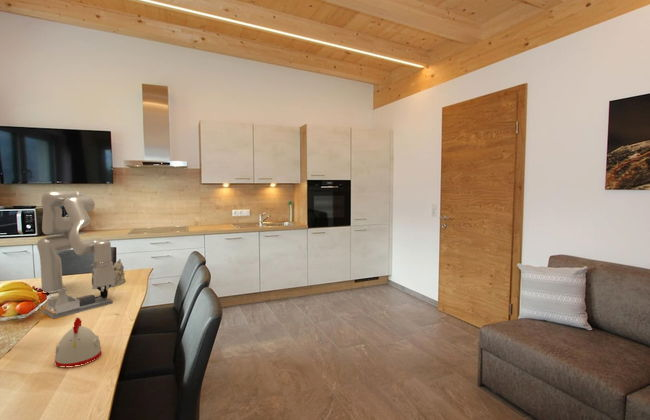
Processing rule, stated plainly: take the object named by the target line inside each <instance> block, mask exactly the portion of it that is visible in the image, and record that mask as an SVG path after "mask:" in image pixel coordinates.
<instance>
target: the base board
mask: <svg viewBox="0 0 650 420" xmlns="http://www.w3.org/2000/svg"><path fill="white" fill-rule="evenodd" d="M113 303H114V302H113V300H110V299H109V298H105V299H103V298H101V296H100V295H97V296H96V295H95V302H94V303H90V304H86V305H82V306H80V308H79V309H76V310H72V311H68V312H64V313H60V314H56V311H53V309H54V308H52V309H49V308H48V306H46V307H43V309H44V310H42V312H43V313H44V314H45V315H47V316H48V317H50V318H52V319H59V318H61V317H65V316H69V315H73V314H76V313H80V312H81V313H82V312H84V311H88V310H92V309H97V308H100V307H104V306H107V305H111V304H113Z"/></svg>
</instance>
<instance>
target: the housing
mask: <svg viewBox="0 0 650 420" xmlns="http://www.w3.org/2000/svg"><path fill="white" fill-rule="evenodd" d="M66 296H67V298H68V300H69V302H67V303H63V304H59V305H56V314H60V313H64V312H68V311H72V310H76V309H79V308H80V306H82V305H86V304H90V303H94V302H95V297H96V294H92V293H91V294H88V295H83V296H80V297H79V296H78V297H74V296H72V295H66ZM57 299H58V297H56V298H52V299H48V300H46V302H47V308H49V309H52V308H54V307H55V304H56V302H57Z"/></svg>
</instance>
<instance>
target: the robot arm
mask: <svg viewBox="0 0 650 420" xmlns="http://www.w3.org/2000/svg"><path fill="white" fill-rule="evenodd" d="M40 202H41V206H42V222H41V223H42V224H41V230H42V233H43V234H44V235H46V236H44V237H41V238H40V239H38V241H37V244H36V246H37V250H38V254H39V262H40V264H39V265H40V281H41V288H40V289H42V290H43V291H44V292H48V293H49V294H56V293H59V292H58V290H59V289H66V290H67V286H66V285H63V267H62V259H61V257H60V255H59V254H57V253H59V252H65V251H69V250H73V252H74V254H76V255H78V256H86V255H87V256H88V255H91V254H93V262H92V263H91V267H93V268H92V272H91V285H92V288H91V289H93V290H98V291H99V293H100V294H99V296H101V298H103V299H105V298H106V299H108V294H109V293H108V291H109V289H110V288H112V287H111V286H113V285H115V282H116V278H115V271H114V267H113V266H114V264H113V265H111V262H112V248H111V247H112V245H111V241H110V240H106V239H105V240H104V239H100V238H93V239H84V240H82V239H81V237H80V235H79V234H80V233H79V232H80V230H82V229H83V228H85V227H87V226H88V225H89V224H90V223H91V222H92V221H91V220H92V219H91V218H90V216H89V213H88V212H91V211H93V210H94V209H95V206H96V203H95V201H94V198H92V197H91V196H89V195H88V194H86V193H83V192H81V191H79V190H50V191H46V192H43V194H42V196H41V201H40ZM61 207H64V209H65V212H66V214H67V216H62V215H63V210H62V208H61ZM47 235H48V236H47ZM103 286H104V287H103Z"/></svg>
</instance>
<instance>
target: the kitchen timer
mask: <svg viewBox="0 0 650 420" xmlns="http://www.w3.org/2000/svg"><path fill="white" fill-rule="evenodd" d="M54 353H55V356H54V364H55V363H56V365H58V366H65V367H66V366H75V365H81V364H85V363H87V362H90V361H92V360H94V359H96V358H97V359H99V358H100V357H101V355H102V346H101V340H100V336H99V335H98V334H97V335H96V334H95V333H94V331H93V330H92V329H90V328H88V327H86V326H83V325H82V320H81V318H80V317H76V318H75V320H74V322H73V326H72V328H70V329H69V330H68V331H67V332H66V333H65V334H64V335H63V336H62V338H61V340H59V342H58V343H57V344H56V346H55V352H54ZM99 356H100V357H99ZM98 357H99V358H98ZM97 359H96V360H97ZM94 361H95V360H94ZM92 362H93V361H92ZM90 363H91V362H90ZM56 365H55V366H56ZM85 365H86V364H85ZM58 366H57V367H58Z"/></svg>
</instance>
